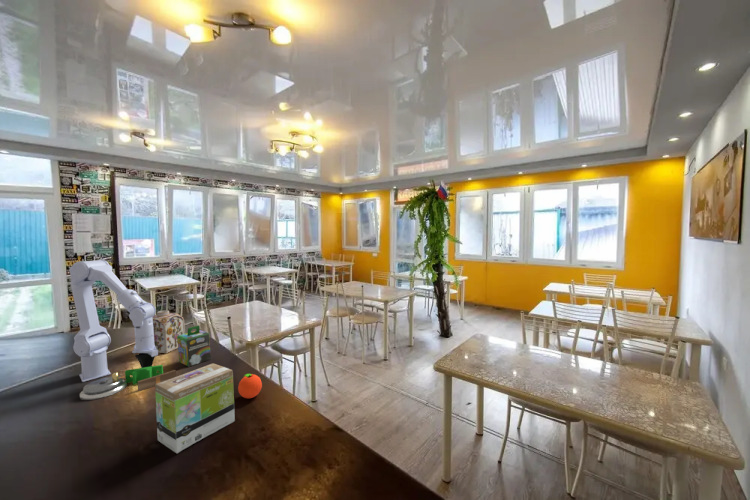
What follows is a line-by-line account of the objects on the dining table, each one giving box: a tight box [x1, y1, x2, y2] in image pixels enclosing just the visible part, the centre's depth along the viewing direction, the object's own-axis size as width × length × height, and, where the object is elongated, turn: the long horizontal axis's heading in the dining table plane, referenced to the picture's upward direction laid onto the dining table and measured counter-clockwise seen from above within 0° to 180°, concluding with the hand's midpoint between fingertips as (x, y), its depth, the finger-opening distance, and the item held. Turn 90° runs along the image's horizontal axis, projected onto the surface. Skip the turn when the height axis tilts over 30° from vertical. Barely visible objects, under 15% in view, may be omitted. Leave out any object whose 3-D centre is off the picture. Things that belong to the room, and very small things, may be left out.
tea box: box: [154, 363, 236, 454], centre depth 80 cm, size 15×10×15 cm
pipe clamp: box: [124, 364, 164, 386], centre depth 111 cm, size 11×4×5 cm, turn 110°
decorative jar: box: [153, 309, 186, 354], centre depth 144 cm, size 12×12×18 cm
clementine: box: [237, 373, 263, 399], centre depth 97 cm, size 8×7×7 cm
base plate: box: [79, 379, 128, 401], centre depth 105 cm, size 12×12×1 cm
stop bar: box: [137, 369, 177, 392], centre depth 108 cm, size 1×11×3 cm, turn 139°
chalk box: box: [177, 325, 212, 368], centre depth 128 cm, size 9×9×15 cm
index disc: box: [82, 371, 125, 395], centre depth 105 cm, size 10×10×4 cm
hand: (147, 371), depth 117 cm, fingers closed
